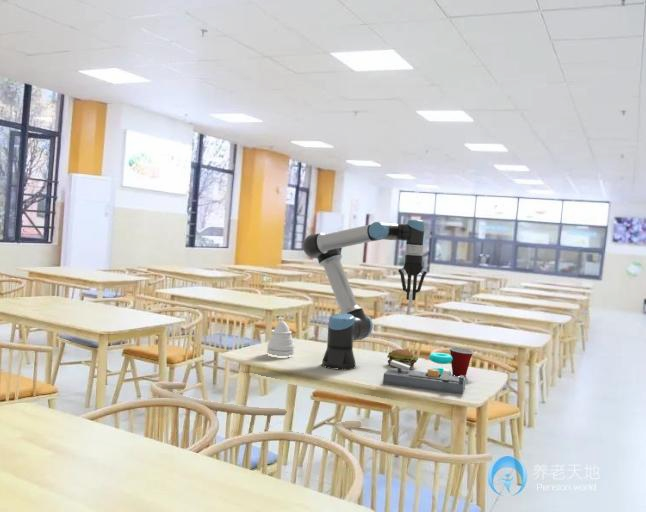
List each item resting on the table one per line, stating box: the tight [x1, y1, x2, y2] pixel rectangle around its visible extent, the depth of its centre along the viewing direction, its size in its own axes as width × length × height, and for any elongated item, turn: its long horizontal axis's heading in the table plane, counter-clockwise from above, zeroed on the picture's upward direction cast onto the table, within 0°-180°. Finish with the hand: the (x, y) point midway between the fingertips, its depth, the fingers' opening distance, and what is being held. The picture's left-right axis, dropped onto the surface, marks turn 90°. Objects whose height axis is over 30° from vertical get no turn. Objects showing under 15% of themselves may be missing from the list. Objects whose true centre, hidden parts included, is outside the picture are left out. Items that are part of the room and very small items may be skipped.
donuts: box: [429, 352, 453, 376], centre depth 264 cm, size 10×10×10 cm
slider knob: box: [442, 368, 451, 380], centre depth 241 cm, size 2×4×4 cm, turn 162°
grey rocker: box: [390, 360, 411, 371], centre depth 254 cm, size 8×4×2 cm, turn 73°
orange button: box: [427, 368, 439, 377], centre depth 249 cm, size 5×5×5 cm
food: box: [386, 348, 419, 369], centre depth 282 cm, size 14×14×8 cm
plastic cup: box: [449, 346, 474, 377], centre depth 269 cm, size 11×11×12 cm
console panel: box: [382, 367, 467, 395], centre depth 248 cm, size 32×13×6 cm, turn 72°
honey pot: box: [266, 317, 295, 356], centre depth 288 cm, size 13×13×18 cm
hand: (410, 307), depth 268 cm, fingers closed
